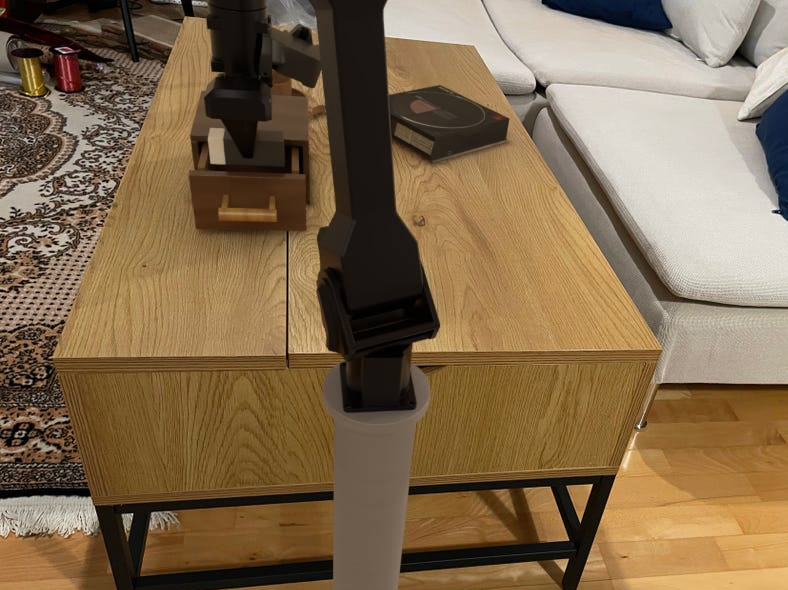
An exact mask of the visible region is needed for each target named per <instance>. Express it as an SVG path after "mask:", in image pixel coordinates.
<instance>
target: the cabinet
mask: <svg viewBox="0 0 788 590" xmlns="http://www.w3.org/2000/svg"><path fill="white" fill-rule="evenodd" d="M205 91H206V90H201V91H200V95H199V99H198V102H197V106H196V110H195V113H194V116H193V117H194V118H193V121H192V126H191V129H190V133H189V138H190V147H191V155H192V162H193V170H198V164H199V160H200V155H201V151H202V146H203V142H208V135H209V131H210V128H224V129H226V127H225V126H224V124H223V123H222V121H221V119H211V118H209V117H207V116H206V112H205V103H204V95H205ZM307 97H308V96H307ZM307 97H298V96H281V95H272V120H270V121H266V122H262V121H258V125H257V130H264V131H283V132H284V145H289V146H298V152H299V174H305V185H306V205H310V204H311V177H310V176H311V173H310V171H311V169H310V167H311V165H310V164H311V163H310V133H309V132H310V131H309V120H308V116H309V113H308V105H307Z"/></svg>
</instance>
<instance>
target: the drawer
mask: <svg viewBox="0 0 788 590" xmlns="http://www.w3.org/2000/svg"><path fill="white" fill-rule="evenodd" d="M284 155H285V160H284V167H275V166H250V165H226V164H211V163H210V154H209V145H208V142H203V146H202V151H201V155H200V160H199V164H198V170H194V169H190V170H188V171H189V172H188V181H189V189H190V196H191V202H192V213H193V219H194V226H195V230H197V231H199V230H200V231H201V230H203V231H204V230H205V231H206V230H207V231H254V232H255V231H258V232H259V231H260V232H262V231H263V232H264V231H265V232H307V229H308V228H307V204H306V185H305V174H299V152H298V146H289V145H284Z"/></svg>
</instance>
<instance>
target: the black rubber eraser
mask: <svg viewBox="0 0 788 590" xmlns="http://www.w3.org/2000/svg"><path fill="white" fill-rule="evenodd" d="M208 145H209V154H210V163H211V164H226V165H250V166H275V167H284V160H285V155H284V132H283V131H264V130H257V132H256V139H255V146H254V153H253V158H243V157H242V155H241V154H240V152H239V150H238V148H237V147H236V145H235V143H234V141H233V140H232V138H231V136H230V134H229V133H228V131H227V129H224V128H210V131H209V135H208Z"/></svg>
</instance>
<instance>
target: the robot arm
mask: <svg viewBox="0 0 788 590" xmlns="http://www.w3.org/2000/svg"><path fill="white" fill-rule="evenodd" d="M307 1H308V2H309V4H310V5H311V7H312V9H313V10H314V14H315V15H314V16H315V21H316V29H317V31H316V32H317V40H318V44H317V43H316V44H314V39H313V32H312V28H310V27H308V26H306V25H304V24H302V23H298V24H296V25H295V26H294V27H293V28H292V29H290V31H289V30H286V29H283V30H281V29H279V28H278V29H277V28H275V27H273V22H272V14H269V10H268V1H267V0H206V4H207V14H206V17H205V22H206V29H207V30H209V35H210V45H211V59H210V69H211V70H210V71H211V73H217V76H214V78H212V80H211V81H210V82H208V83H207V85H206V87H205V90H204V91H205V95H204V103H205V112H206V116H207V117H209V118H211V119H221V121H222V123H223V124H224V126H225V127H226V129H227V131H228V133H229V134H230V136H231V138H232V140H233V141H234V143H235V145H236V147H237V148H238V150H239V152H240V154H241V155H242V157H243V158H253V153H254V146H255V139H256V132H257V125H258V121H262V122H266V121H270V120H272V89H271V88H272V87H273V70H275V71H276V72H278V73H280V74H282V75H285V76H287V77H289V78H291V79H292V80H294V81H296V82H299V83H301V85H302V86H304V87H305V88H309V89H315V88H316V87H317V83H318V81H319V78H320V75H321V79H322V88H323V97H324V105H325V108H326V110H325V118H326V127H327V136H328V137H327V138H328V145H329V155H330V156H329V157H330V162H331V163H330V165H331V175H332V182H333V183H332V185H333V192H334V203H335V205H334V206H335V212H334V213H333V216H332V217H331V220H330V221H329V223H328V225H325V226H320V227H319V228H318V232H317V235H316V244H317V249H318V255H319V271H318V273H317V279H316V280H315V281H316V283H315V284H316V290H315V292H316V293H315V294H316V297H317V300H318V304H319V310H320V316H321V322H322V327H323V328H324V329H323V330H324V332H325V347H326V349H327V350H328V351H329V352H331V353H337V354H338V355H339V354H340V355H341V357H342V358H343V360H345V361H346V362H342V363H340V362H339V363H340V379H341V391H342V403H343V411H344V412H346V413H359V412H382V411H405V410H414V409H416V406H417V401H416V396H415V391H414V386H413V381H412V376H411V371H410V367H411V363H412V356H413V346H414V344H415V343H418V342H423V341H425V340H429V341H430V340H433V339H435V338H437V334H438V333H439V331H440V328H441V322H440V318H439V315H438V311H437V309H436V304H435V302H434V297H433V294H432V292H431V288H430V284H429V282H428V281H429V280H428V278H427V274H426V270H425V267H424V264H423V262H422V260H421V255H420V247H419V242H418V240H417V238H416V237H415V236H414V234H413V232H412V231H411V230H410V228H409V227H408V226H407V224H406V223H405V222H404V219H403V218H402V217H401V216H400V215H399V213H398V210H397V199H396V185H395V184H396V183H395V170H394V169H395V168H394V154H393V140H392V137H391V122H390V106H389V95H390V93H389V77H388V63H387V62H388V61H387V47H386V34H385V33H386V32H385V13H384V12H385V8H386V6H387V3H388V1H389V0H307ZM272 69H273V70H272ZM410 404H412V405H410ZM347 407H350V408H347Z"/></svg>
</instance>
